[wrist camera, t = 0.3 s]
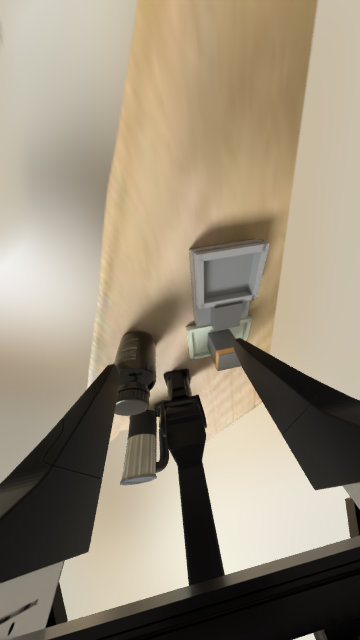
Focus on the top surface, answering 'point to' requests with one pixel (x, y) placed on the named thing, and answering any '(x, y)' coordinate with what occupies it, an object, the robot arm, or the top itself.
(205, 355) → the tray
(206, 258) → the grey storage bin
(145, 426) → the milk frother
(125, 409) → the supplement bottle
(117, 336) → the top surface
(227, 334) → the plug
